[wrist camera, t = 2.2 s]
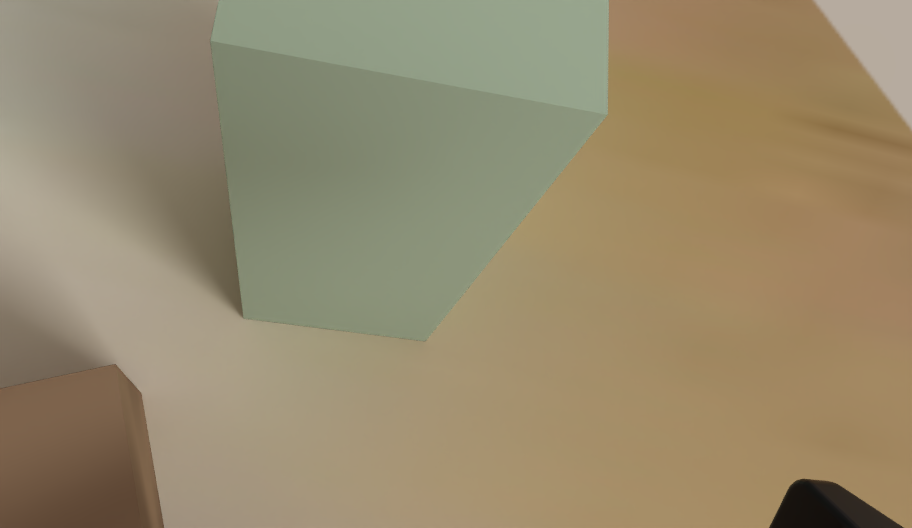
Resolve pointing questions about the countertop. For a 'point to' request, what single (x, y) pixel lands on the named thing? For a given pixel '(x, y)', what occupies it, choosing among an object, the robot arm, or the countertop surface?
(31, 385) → the walnut block
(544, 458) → the countertop surface
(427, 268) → the sage green block
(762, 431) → the countertop surface
